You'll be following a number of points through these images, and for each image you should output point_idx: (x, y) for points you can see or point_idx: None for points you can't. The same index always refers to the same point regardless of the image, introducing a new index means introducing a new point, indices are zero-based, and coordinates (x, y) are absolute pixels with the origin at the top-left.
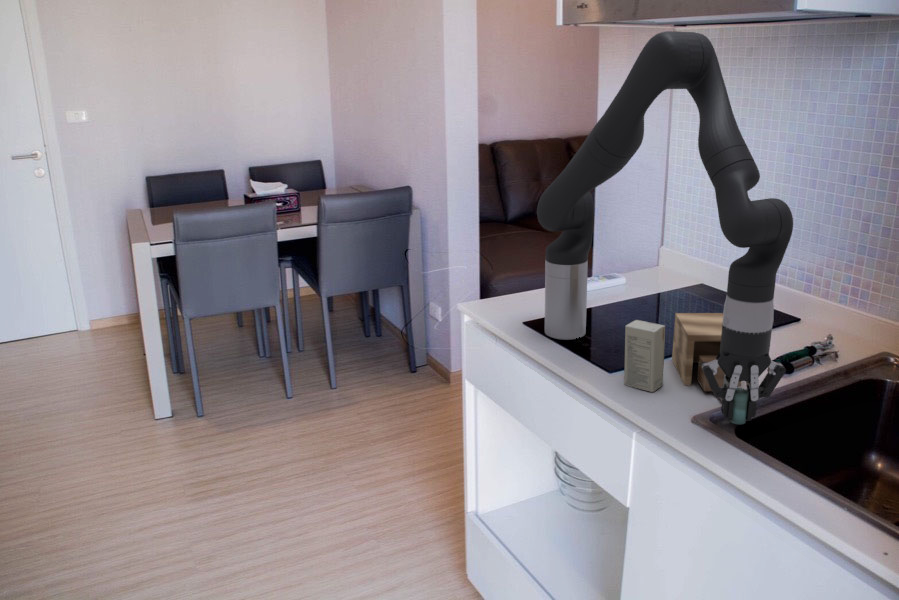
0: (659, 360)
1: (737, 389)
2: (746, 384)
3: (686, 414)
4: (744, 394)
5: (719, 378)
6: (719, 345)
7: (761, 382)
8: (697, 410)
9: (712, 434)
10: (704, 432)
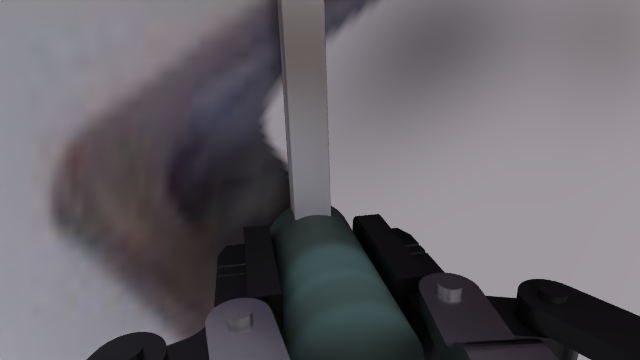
0: None
1: (345, 344)
2: (444, 349)
3: (21, 127)
4: None
5: None
6: None
7: (590, 335)
8: (100, 64)
9: (165, 329)
10: (125, 317)
